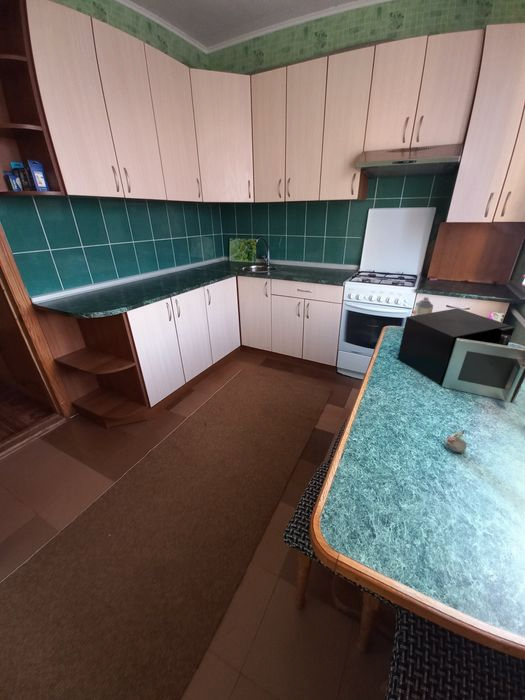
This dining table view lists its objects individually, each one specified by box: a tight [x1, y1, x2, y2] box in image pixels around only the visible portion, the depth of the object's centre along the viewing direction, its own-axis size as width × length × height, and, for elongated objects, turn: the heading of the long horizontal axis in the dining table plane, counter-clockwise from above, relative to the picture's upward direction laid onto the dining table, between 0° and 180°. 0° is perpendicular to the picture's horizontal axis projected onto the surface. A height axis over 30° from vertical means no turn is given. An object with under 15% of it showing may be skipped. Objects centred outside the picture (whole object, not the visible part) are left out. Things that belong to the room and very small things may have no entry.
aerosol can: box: [412, 296, 434, 316], centre depth 128 cm, size 7×7×20 cm
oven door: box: [441, 338, 525, 404], centre depth 89 cm, size 8×20×18 cm, turn 63°
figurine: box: [444, 429, 468, 454], centre depth 73 cm, size 5×4×6 cm
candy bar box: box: [486, 311, 506, 323], centre depth 116 cm, size 11×5×16 cm, turn 137°
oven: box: [397, 308, 516, 385], centre depth 107 cm, size 22×26×18 cm
